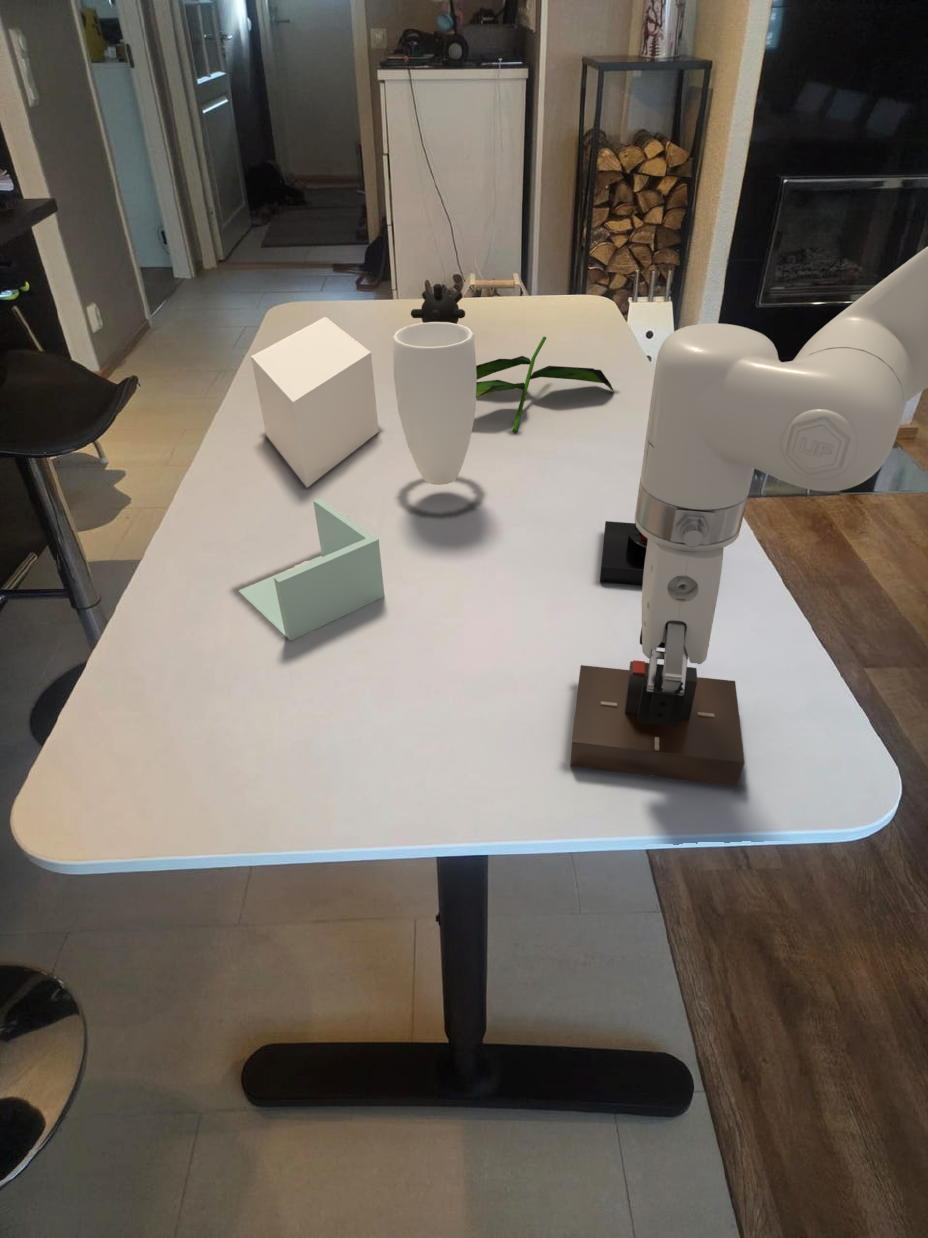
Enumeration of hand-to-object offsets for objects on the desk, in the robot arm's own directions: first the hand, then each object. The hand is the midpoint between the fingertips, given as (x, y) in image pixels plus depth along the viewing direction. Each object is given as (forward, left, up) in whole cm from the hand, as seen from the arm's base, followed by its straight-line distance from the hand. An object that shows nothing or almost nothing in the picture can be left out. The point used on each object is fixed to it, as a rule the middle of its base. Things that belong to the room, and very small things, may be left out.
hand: (657, 681), depth 68 cm
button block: (0, -28, -6) cm, 29 cm away
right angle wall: (+38, -16, -6) cm, 41 cm away
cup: (+28, -40, -6) cm, 49 cm away
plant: (+19, -72, -6) cm, 75 cm away
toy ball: (+42, -103, -6) cm, 111 cm away
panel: (0, 0, -6) cm, 6 cm away
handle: (0, 0, -3) cm, 3 cm away
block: (+50, -57, -6) cm, 76 cm away
